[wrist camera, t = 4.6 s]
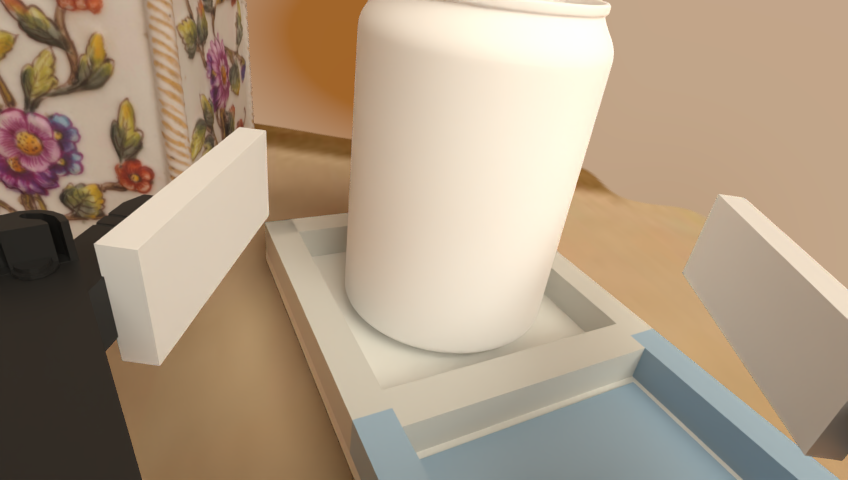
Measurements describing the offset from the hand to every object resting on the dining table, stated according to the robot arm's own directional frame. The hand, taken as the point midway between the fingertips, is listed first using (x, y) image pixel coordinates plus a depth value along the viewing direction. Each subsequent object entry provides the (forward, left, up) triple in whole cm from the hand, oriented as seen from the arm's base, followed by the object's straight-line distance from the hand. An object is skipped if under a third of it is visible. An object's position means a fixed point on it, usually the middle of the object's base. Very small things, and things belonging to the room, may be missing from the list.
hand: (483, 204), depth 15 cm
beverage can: (-4, +2, -7) cm, 8 cm away
